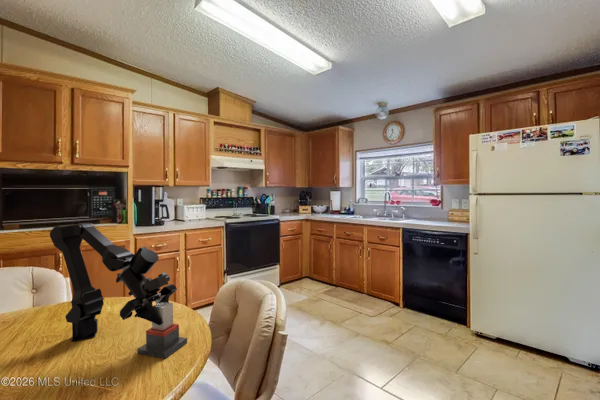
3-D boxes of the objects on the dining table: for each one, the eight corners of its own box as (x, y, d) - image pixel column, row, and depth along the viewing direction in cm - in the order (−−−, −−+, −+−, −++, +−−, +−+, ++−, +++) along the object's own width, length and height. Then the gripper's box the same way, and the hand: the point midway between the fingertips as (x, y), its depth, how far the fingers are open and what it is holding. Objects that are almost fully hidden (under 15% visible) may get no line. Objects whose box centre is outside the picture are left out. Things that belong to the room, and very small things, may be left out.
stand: (137, 353, 90) (137, 332, 90) (161, 338, 100) (161, 319, 100) (164, 358, 87) (164, 336, 87) (187, 342, 97) (186, 322, 97)
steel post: (152, 345, 92) (151, 306, 92) (162, 338, 96) (161, 301, 96) (163, 347, 91) (163, 307, 91) (173, 340, 95) (173, 302, 95)
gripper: (126, 273, 86) (159, 316, 83) (172, 260, 103) (200, 295, 100) (105, 298, 88) (136, 341, 85) (153, 281, 106) (180, 315, 103)
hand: (166, 321), depth 93 cm, fingers closed on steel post, 4 cm apart
